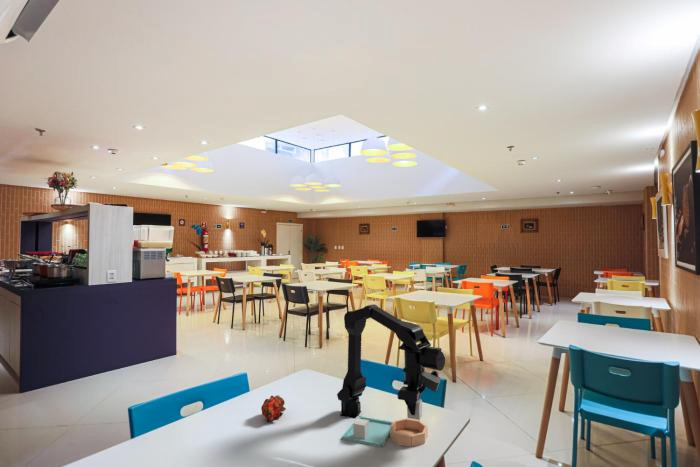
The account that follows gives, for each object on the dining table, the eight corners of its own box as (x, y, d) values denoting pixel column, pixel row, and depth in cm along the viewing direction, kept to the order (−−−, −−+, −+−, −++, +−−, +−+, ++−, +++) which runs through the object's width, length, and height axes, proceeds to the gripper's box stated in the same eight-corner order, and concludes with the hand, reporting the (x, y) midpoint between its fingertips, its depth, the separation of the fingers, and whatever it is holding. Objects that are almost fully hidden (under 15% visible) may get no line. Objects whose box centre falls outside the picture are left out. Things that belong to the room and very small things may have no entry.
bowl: (386, 443, 119) (386, 431, 119) (396, 426, 130) (396, 416, 130) (422, 449, 115) (422, 438, 115) (429, 432, 125) (429, 422, 125)
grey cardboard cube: (353, 439, 122) (353, 423, 122) (358, 433, 125) (357, 418, 125) (365, 441, 120) (364, 425, 120) (369, 435, 124) (368, 420, 124)
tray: (341, 440, 122) (341, 436, 122) (359, 419, 136) (359, 416, 136) (382, 448, 116) (381, 444, 116) (396, 425, 131) (396, 422, 131)
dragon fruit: (280, 414, 146) (270, 434, 134) (263, 401, 146) (251, 420, 134) (292, 398, 144) (282, 416, 132) (274, 385, 144) (263, 403, 133)
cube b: (419, 420, 119) (419, 404, 119) (407, 418, 121) (407, 402, 121) (422, 414, 123) (421, 399, 123) (410, 412, 124) (410, 397, 125)
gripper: (432, 376, 111) (433, 429, 110) (442, 358, 128) (444, 404, 127) (396, 372, 115) (397, 423, 114) (411, 355, 132) (412, 399, 132)
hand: (414, 412), depth 122 cm, fingers closed on cube b, 4 cm apart
